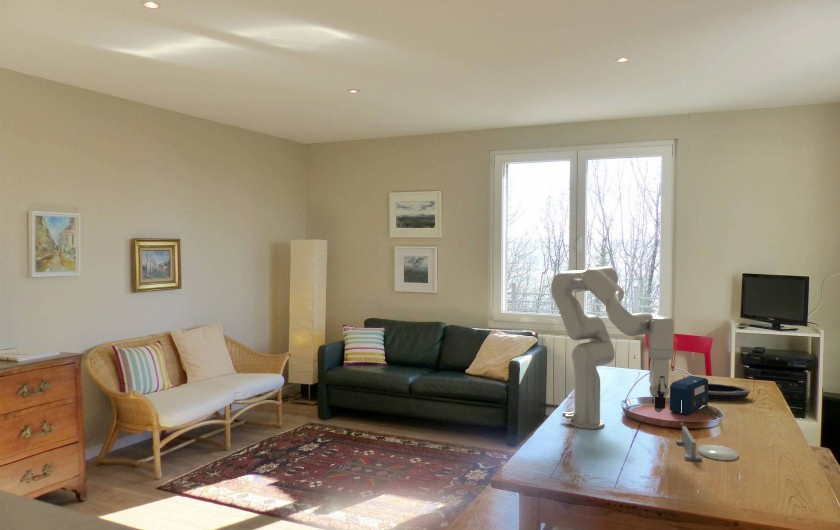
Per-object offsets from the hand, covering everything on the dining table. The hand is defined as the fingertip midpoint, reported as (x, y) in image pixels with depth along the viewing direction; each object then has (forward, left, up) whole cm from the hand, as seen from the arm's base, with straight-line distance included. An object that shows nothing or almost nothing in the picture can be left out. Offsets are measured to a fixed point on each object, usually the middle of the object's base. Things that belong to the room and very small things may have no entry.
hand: (658, 405), depth 200 cm
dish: (+32, +72, -16) cm, 80 cm away
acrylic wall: (+10, 0, -15) cm, 18 cm away
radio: (+20, +50, -15) cm, 55 cm away
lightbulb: (0, 0, -3) cm, 3 cm away
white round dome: (+19, 0, -15) cm, 24 cm away
